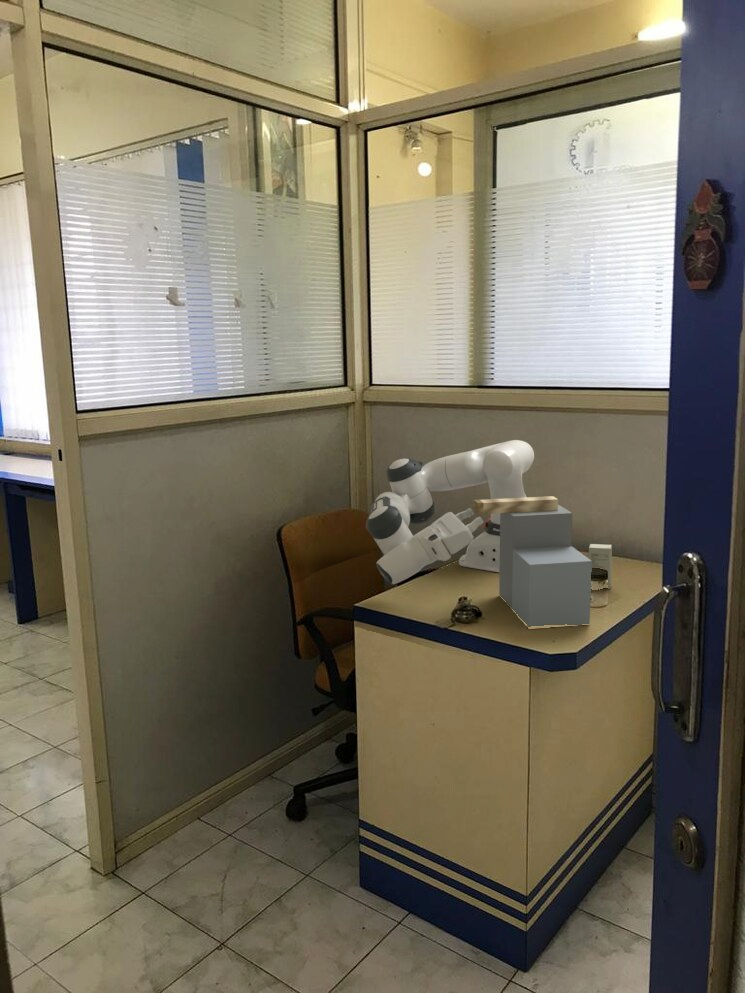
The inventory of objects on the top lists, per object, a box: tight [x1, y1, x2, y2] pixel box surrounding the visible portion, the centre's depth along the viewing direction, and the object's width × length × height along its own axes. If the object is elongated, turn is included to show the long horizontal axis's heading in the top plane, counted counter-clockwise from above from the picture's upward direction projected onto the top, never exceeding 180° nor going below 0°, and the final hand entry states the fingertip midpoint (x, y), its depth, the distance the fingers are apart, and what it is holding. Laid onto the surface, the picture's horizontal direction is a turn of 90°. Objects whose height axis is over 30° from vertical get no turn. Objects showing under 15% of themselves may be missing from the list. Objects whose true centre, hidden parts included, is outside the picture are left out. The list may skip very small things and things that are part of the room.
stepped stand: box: [498, 504, 592, 627], centre depth 217 cm, size 16×26×26 cm, turn 8°
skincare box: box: [588, 543, 613, 590], centre depth 237 cm, size 6×4×12 cm
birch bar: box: [473, 495, 559, 515], centre depth 220 cm, size 22×4×3 cm, turn 98°
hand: (477, 514), depth 219 cm, fingers open, 8 cm apart
